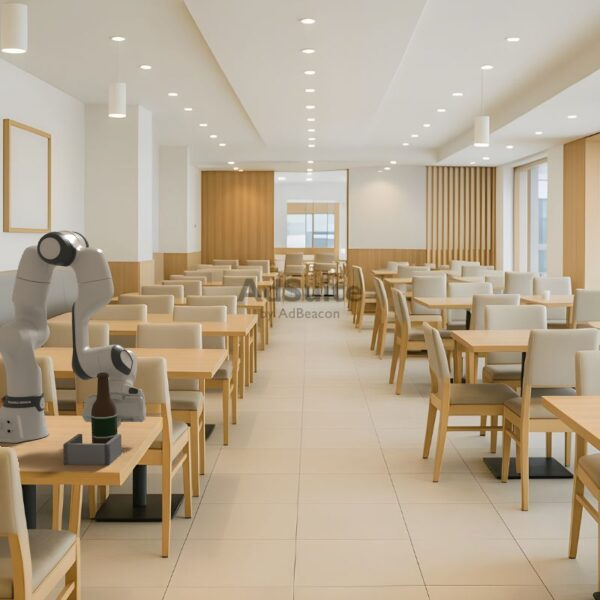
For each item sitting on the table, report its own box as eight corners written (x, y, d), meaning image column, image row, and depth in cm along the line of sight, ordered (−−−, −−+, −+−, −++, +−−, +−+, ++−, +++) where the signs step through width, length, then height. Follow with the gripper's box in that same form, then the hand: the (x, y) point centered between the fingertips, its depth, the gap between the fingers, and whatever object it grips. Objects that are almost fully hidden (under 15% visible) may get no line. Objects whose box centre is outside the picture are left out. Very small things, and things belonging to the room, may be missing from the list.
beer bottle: (93, 453, 243) (90, 375, 241) (91, 447, 250) (88, 371, 248) (119, 451, 245) (116, 374, 243) (116, 445, 253) (114, 370, 251)
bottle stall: (63, 464, 232) (63, 444, 231) (79, 453, 244) (78, 433, 243) (108, 465, 230) (108, 444, 230) (121, 453, 243) (121, 434, 242)
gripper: (84, 389, 259) (75, 426, 250) (146, 389, 257) (139, 427, 248) (89, 400, 264) (80, 437, 255) (150, 400, 262) (143, 437, 253)
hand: (110, 432), depth 252 cm, fingers closed, pressing on beer bottle
